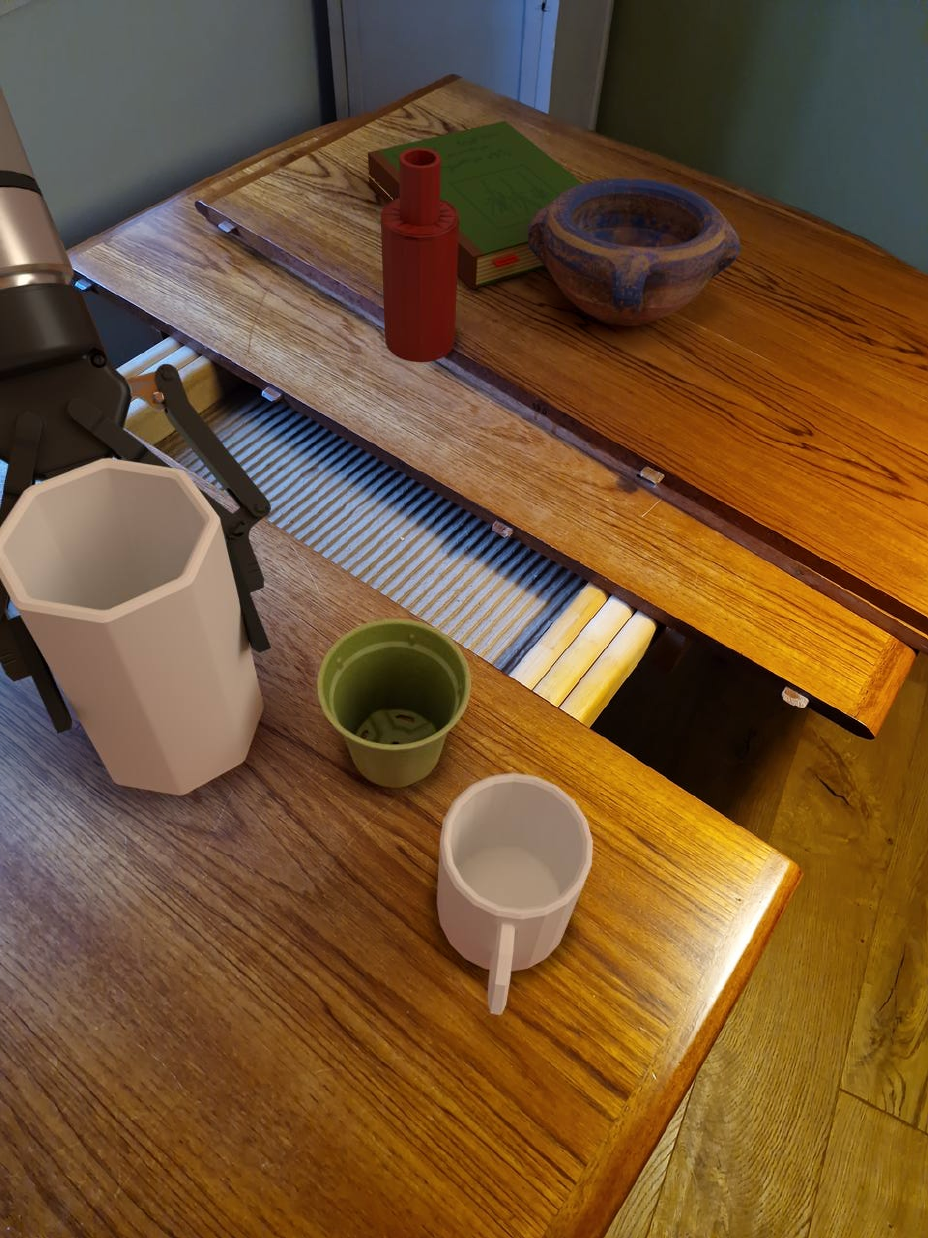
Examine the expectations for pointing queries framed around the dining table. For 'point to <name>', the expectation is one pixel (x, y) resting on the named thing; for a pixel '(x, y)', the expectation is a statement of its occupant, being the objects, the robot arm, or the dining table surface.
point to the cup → (137, 619)
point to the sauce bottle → (419, 262)
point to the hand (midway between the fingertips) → (167, 686)
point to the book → (485, 195)
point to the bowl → (632, 247)
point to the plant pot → (394, 696)
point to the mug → (510, 874)
